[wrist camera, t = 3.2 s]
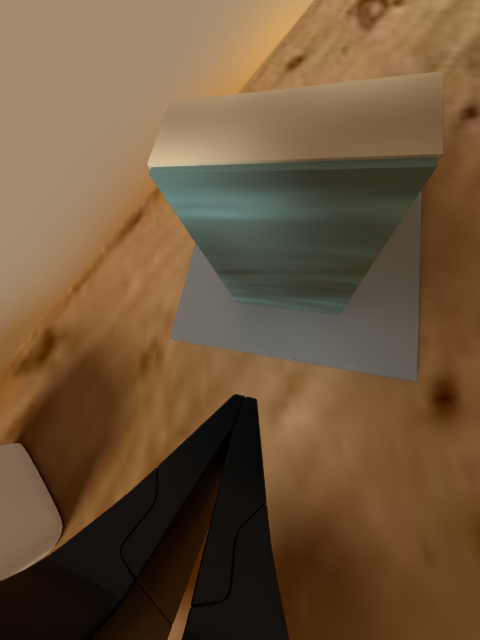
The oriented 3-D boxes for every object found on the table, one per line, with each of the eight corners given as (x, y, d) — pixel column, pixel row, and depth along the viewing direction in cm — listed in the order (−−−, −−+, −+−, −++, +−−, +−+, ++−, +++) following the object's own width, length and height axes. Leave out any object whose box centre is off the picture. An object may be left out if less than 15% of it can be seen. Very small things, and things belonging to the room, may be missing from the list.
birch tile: (340, 315, 19) (443, 163, 6) (235, 302, 22) (144, 171, 8) (344, 278, 20) (443, 70, 7) (242, 269, 22) (168, 101, 9)
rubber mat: (411, 381, 18) (417, 381, 17) (174, 339, 23) (170, 338, 22) (419, 131, 23) (423, 123, 22) (225, 143, 28) (223, 136, 27)
